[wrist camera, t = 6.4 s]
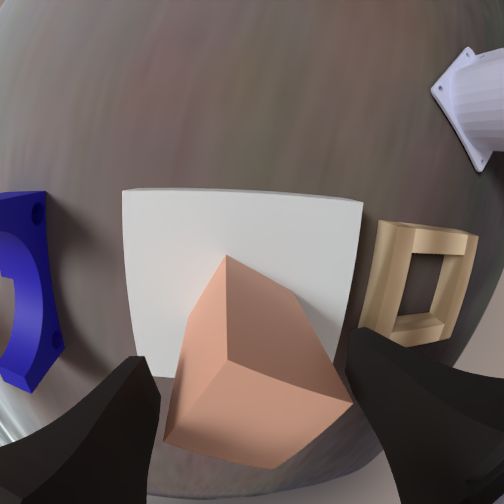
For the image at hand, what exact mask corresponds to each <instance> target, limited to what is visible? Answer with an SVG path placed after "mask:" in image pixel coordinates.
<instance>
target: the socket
mask: <svg viewBox="0 0 504 504" xmlns="http://www.w3.org/2000/svg"><path fill="white" fill-rule="evenodd" d="M478 237H479V236H476V235H474V234H471V233H468V232H465V231H462V230H458V229H451V228H444V227H436V226H428V225H420V224H412V223H403V222H394V221H385V220H379V221H378V228H377V235H376V242H375V248H374V254H373V260H372V265H371V271H370V276H369V281H368V286H367V290H366V295H365V300H364V304H363V308H362V312H361V316H360V320H359V324H358V328H361V327H367V328H369V329H371V330H373V331H375V332H377V333H379V334H381V335H383V336H385V337H387V338H388V339H390V340H392V341H394V342H396V343H398V344H400V345H402V346H404V347H411V346H416V345H421V344H426V343H430V342H435V341H439V340H444V339H448V338H450V336H451V333H452V331H453V328H454V325H455V323H456V320H457V317H458V314H459V311H460V308H461V305H462V302H463V299H464V295H465V292H466V289H467V285H468V281H469V278H470V274H471V270H472V266H473V261H474V257H475V252H476V247H477V242H478ZM412 253H429V254H444V259H443V263H442V268H441V272H440V276H439V280H438V284H437V288H436V291H435V295H434V298H433V302H432V305H431V309H430V312H428V313H420V314H411V315H402V316H397V313H398V309H399V306H400V302H401V298H402V294H403V290H404V286H405V282H406V278H407V273H408V269H409V264H410V259H411V254H412Z"/></svg>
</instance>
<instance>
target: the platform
mask: <svg viewBox="0 0 504 504" xmlns="http://www.w3.org/2000/svg"><path fill="white" fill-rule="evenodd" d="M362 209H363V202H359V201H355V200H351V199H347V198H340V197H331V196H321V195H310V194H299V193H286V192H272V191H255V190H236V189H208V188H136V189H130V190H125V191H122V218H123V243H124V258H125V270H126V281H127V290H128V298H129V306H130V313H131V320H132V326H133V332H134V338H135V344H136V349H137V354H138V356H145V358H146V361H147V364H148V366H149V369H150V371H151V374H152V376H159V377H170V378H175V375H176V370H177V365H178V360H179V356H180V351H181V346H182V342H183V337H184V333H185V329H186V324H187V320H188V316H189V315H190V313H191V311H192V310H193V308H194V306H195V305H196V303H197V301H198V300H199V298H200V296H201V295H202V293H203V291H204V290H205V288H206V286H207V285H208V283H209V281H210V280H211V278H212V276H213V275H214V273H215V271H216V270H217V268H218V266H219V265H220V263H221V261H222V260H223V258H224V256H225V255H228V256H230V257H231V258H233V259H235V260H237V261H239V262H240V263H242V264H244V265H246V266H247V267H249V268H251V269H253V270H255V271H256V272H258V273H260V274H262V275H264V276H265V277H267V278H269V279H271V280H273V281H274V282H276V283H278V284H280V285H282V286H283V287H285V288H287V289H289V290H291V291H292V292H293V293H294V295H295V296H296V298H297V300H298V302H299V304H300V305H301V307H302V309H303V311H304V313H305V314H306V316H307V318H308V320H309V322H310V324H311V325H312V327H313V329H314V331H315V333H316V334H317V336H318V338H319V340H320V342H321V344H322V346H323V347H324V349H325V351H326V353H327V355H328V357H329V358H330V360H331V362H332V364H333V361H334V357H335V353H336V349H337V346H338V342H339V338H340V333H341V329H342V325H343V321H344V316H345V312H346V307H347V302H348V298H349V293H350V288H351V282H352V277H353V271H354V266H355V260H356V253H357V247H358V240H359V233H360V225H361V217H362Z"/></svg>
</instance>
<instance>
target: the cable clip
mask: <svg viewBox="0 0 504 504" xmlns="http://www.w3.org/2000/svg"><path fill="white" fill-rule="evenodd" d="M45 195H46V191H25V192H5V193H0V271H1V276H2V277H7V278H11V279H13V280H14V287H15V316H14V323H13V329H12V333H11V336H10V340H9V343H8V345H7V348H6V350H5V352H4V354H3V356H2V357H1V359H0V374H1V376H2V378H3V380H4V381H5V382H7V383H9V384H11V385H13V386H16V387H18V388H20V389H22V390H24V391H27V392H29V393H31V394H32V393H33V391H34V390H35V388H36V387H37V386H38V384H39V383H40V381H41V380H42V378H43V377H44V376H45V374H46V373H47V371H48V370H49V369H50V367H51V366H52V365H53V363H54V362H55V361H56V359H57V358H58V357H59V355H60V354H61V353H62V351H63V350H64V349H65V345H64V341H63V337H62V333H61V329H60V325H59V321H58V316H57V311H56V306H55V301H54V295H53V289H52V283H51V276H50V268H49V259H48V249H47V236H46V209H45Z"/></svg>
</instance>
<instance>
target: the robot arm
mask: <svg viewBox="0 0 504 504" xmlns="http://www.w3.org/2000/svg"><path fill="white" fill-rule="evenodd" d="M439 89H440V90H439ZM431 93H432V95H433V97H434V98H435V100H436V101H437V102H438V104H439V105H440V107H441V108H442V110H443V112H444V113H445V115H446V116H447V118H448V119H449V121H450V123H451V124H452V126H453V128H454V129H455V131H456V133H457V135H458V136H459V138H460V140H461V142H462V144H463V145H464V147H465V149H466V151H467V153H468V155H469V157H470V159H471V161H472V163H473V165H474V167H475V169H476V171H477V172H482V171H483V169H484V167H485V165H486V164H487V162H488V160H489V158H490V156H491V154H492V152H493V151H504V48H501V49H497V50H493V51H490V52H486V53H482V54H479V55H475V54H474V52H473V51H472V49H471V48H469V47H467V48H465V49H464V50H463V51H462V53H461V54H460V55H459V56H458V57H457V59H456V60H455V61H454V62H453V63H452V64H451V66H450V67H449V68H448V69H447V70H446V71H445V73H444V74H443V75H442V76H441V77H440V78H439V80H438V81H437V82H436V83H435V84H434V85H433V87H432V88H431ZM345 374H346V376H347V379H348V382H349V384H350V387H351V389H352V392H353V394H354V396H355V398H356V400H357V401H358V403H359V405H360V407H361V409H362V410H363V412H364V414H365V416H366V417H367V419H368V421H369V423H370V424H371V426H372V428H373V430H374V431H375V433H376V435H377V437H378V439H379V441H380V443H381V445H382V447H383V449H384V452H385V454H386V457H387V460H388V462H389V465H390V468H391V471H392V474H393V477H394V480H395V483H396V486H397V490H398V493H399V497H400V500H401V504H504V379H502V378H495V377H488V376H483V375H478V374H472V373H469V372H465V371H462V370H458V369H455V368H452V367H449V366H446V365H443V364H441V363H438V362H436V361H433V360H431V359H429V358H426V357H424V356H422V355H420V354H418V353H416V352H413V351H411V350H409V349H407V348H405V347H404V346H402V345H400V344H398V343H396V342H394V341H392V340H390V339H388V338H387V337H385V336H383V335H381V334H379V333H377V332H375V331H373V330H371V329H369V328H367V327H361V328H357V329H352V330H350V333H349V344H348V353H347V362H346V370H345ZM160 402H161V395H160V393H159V391H158V388H157V386H156V383H155V381H154V379H153V376H152V374H151V371H150V369H149V366H148V364H147V361H146V358H145V356H129V357H128V358H127V359H125V360H124V361H123V362H122V363H121V364H120V365H119V366H118V367H117V368H116V369H115V370H114V371H113V372H112V373H110V374H109V375H108V376H107V377H106V378H105V379H104V380H103V381H102V382H101V383H100V384H99V385H98V386H97V387H96V388H95V389H94V390H92V391H91V392H90V393H89V394H88V395H87V396H86V397H84V398H83V399H82V400H81V401H80V402H79V403H77V404H76V405H75V406H74V407H73V408H71V409H70V410H69V411H67V412H66V413H65V414H63V415H62V416H61V417H59V418H58V419H56V420H55V421H53V422H52V423H50V424H49V425H47V426H45V427H43V428H42V429H40V430H38V431H36V432H34V433H33V434H31V435H29V436H27V437H25V438H22V439H20V440H18V441H15V442H13V443H10V444H7V445H4V446H1V447H0V504H146V496H147V477H148V469H149V464H150V459H151V454H152V450H153V445H154V440H155V436H156V431H157V427H158V422H159V414H160Z"/></svg>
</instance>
